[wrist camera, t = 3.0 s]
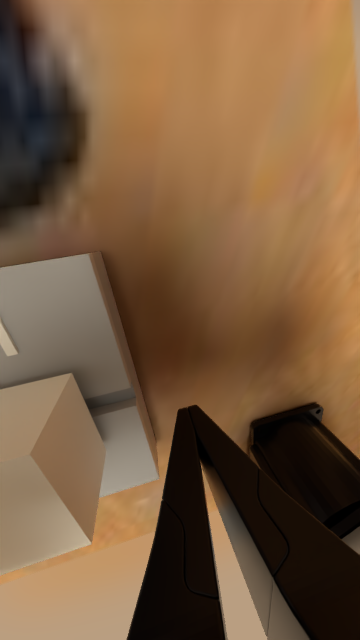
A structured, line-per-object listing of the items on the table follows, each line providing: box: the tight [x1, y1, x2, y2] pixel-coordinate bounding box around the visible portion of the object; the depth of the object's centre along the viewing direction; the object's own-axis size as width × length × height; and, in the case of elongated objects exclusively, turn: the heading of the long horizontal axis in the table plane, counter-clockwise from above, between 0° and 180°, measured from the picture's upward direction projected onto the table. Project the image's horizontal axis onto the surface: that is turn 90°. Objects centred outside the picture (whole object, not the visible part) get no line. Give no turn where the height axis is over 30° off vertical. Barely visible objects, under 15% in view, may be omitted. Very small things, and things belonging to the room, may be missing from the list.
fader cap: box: [0, 373, 106, 575], centre depth 8 cm, size 4×5×4 cm
